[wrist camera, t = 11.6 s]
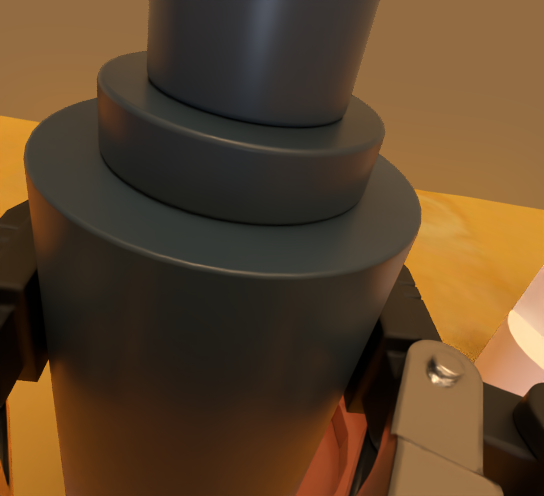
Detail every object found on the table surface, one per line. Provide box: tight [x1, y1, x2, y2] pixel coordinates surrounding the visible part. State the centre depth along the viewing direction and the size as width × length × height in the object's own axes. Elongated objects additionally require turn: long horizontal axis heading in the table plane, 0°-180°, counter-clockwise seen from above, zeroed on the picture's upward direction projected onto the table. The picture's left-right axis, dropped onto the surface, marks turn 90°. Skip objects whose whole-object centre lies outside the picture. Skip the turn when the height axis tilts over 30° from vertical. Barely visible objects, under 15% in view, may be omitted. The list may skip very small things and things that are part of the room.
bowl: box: [296, 395, 367, 496], centre depth 26 cm, size 16×16×4 cm
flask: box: [24, 0, 421, 496], centre depth 9 cm, size 6×6×18 cm
